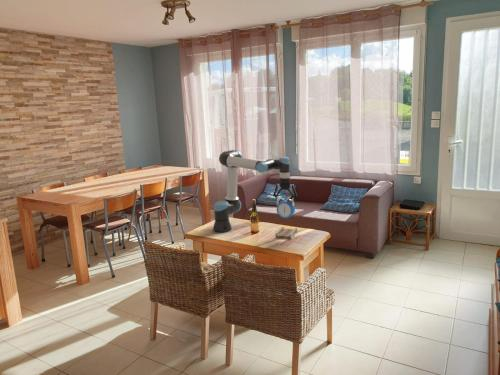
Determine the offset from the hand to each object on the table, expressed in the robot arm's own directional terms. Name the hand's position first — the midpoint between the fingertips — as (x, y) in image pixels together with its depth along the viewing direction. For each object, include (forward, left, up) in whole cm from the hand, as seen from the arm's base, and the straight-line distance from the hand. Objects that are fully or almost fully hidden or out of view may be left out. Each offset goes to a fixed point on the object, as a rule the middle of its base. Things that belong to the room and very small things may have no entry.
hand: (285, 205), depth 310 cm
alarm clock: (0, 0, -10) cm, 10 cm away
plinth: (0, 0, -24) cm, 24 cm away
